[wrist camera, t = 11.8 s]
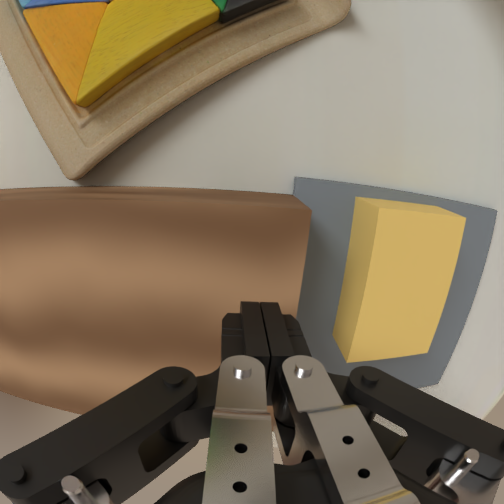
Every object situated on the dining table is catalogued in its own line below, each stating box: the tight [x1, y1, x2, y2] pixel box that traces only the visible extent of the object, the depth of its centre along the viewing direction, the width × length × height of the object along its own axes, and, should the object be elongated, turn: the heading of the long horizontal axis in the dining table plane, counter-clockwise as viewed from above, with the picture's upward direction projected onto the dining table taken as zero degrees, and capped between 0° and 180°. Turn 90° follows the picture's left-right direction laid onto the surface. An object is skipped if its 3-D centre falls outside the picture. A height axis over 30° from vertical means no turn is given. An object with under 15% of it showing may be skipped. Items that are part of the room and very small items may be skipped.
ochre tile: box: [332, 197, 466, 363], centre depth 17 cm, size 9×6×3 cm, turn 177°
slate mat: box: [293, 177, 497, 388], centre depth 20 cm, size 16×16×1 cm
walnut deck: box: [0, 186, 312, 431], centre depth 16 cm, size 14×22×4 cm, turn 85°
